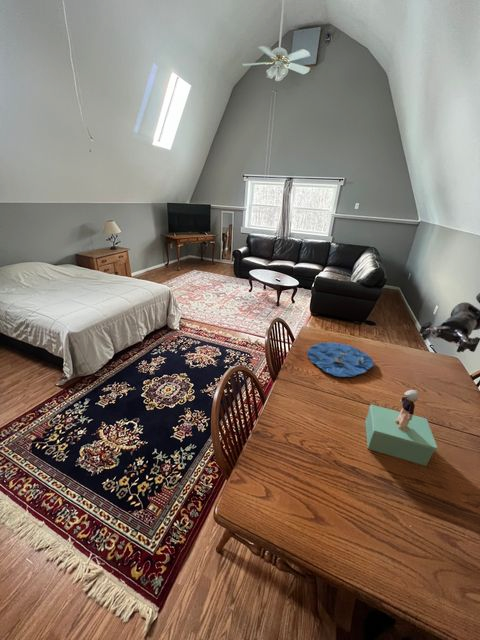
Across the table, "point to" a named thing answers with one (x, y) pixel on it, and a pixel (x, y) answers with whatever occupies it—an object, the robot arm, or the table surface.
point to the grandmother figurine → (407, 409)
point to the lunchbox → (396, 446)
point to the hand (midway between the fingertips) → (441, 342)
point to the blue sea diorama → (339, 359)
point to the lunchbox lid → (388, 427)
